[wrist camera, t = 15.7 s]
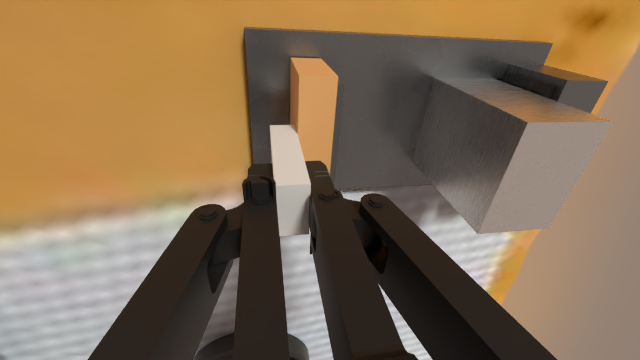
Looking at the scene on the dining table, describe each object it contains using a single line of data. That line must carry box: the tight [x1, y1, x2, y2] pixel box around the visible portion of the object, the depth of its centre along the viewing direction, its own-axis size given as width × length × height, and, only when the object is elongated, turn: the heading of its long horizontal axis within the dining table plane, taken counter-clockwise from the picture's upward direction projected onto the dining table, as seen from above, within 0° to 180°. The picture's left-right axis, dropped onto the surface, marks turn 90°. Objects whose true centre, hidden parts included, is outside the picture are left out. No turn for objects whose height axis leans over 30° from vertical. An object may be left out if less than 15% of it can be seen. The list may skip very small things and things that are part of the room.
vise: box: [244, 27, 608, 189], centre depth 21 cm, size 12×22×6 cm, turn 87°
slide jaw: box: [290, 58, 345, 185], centre depth 19 cm, size 9×2×5 cm, turn 177°
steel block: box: [413, 77, 613, 234], centre depth 20 cm, size 7×5×9 cm
